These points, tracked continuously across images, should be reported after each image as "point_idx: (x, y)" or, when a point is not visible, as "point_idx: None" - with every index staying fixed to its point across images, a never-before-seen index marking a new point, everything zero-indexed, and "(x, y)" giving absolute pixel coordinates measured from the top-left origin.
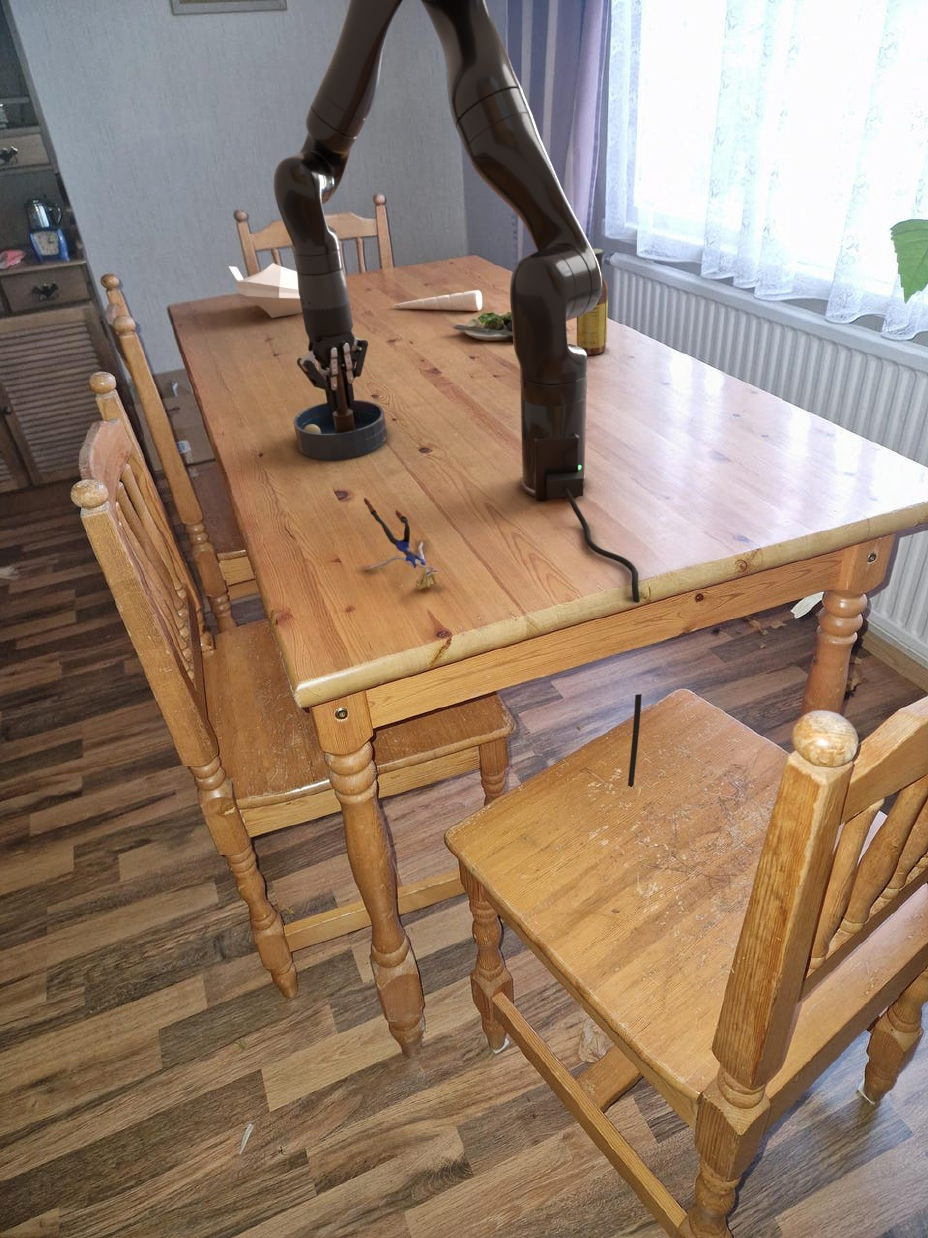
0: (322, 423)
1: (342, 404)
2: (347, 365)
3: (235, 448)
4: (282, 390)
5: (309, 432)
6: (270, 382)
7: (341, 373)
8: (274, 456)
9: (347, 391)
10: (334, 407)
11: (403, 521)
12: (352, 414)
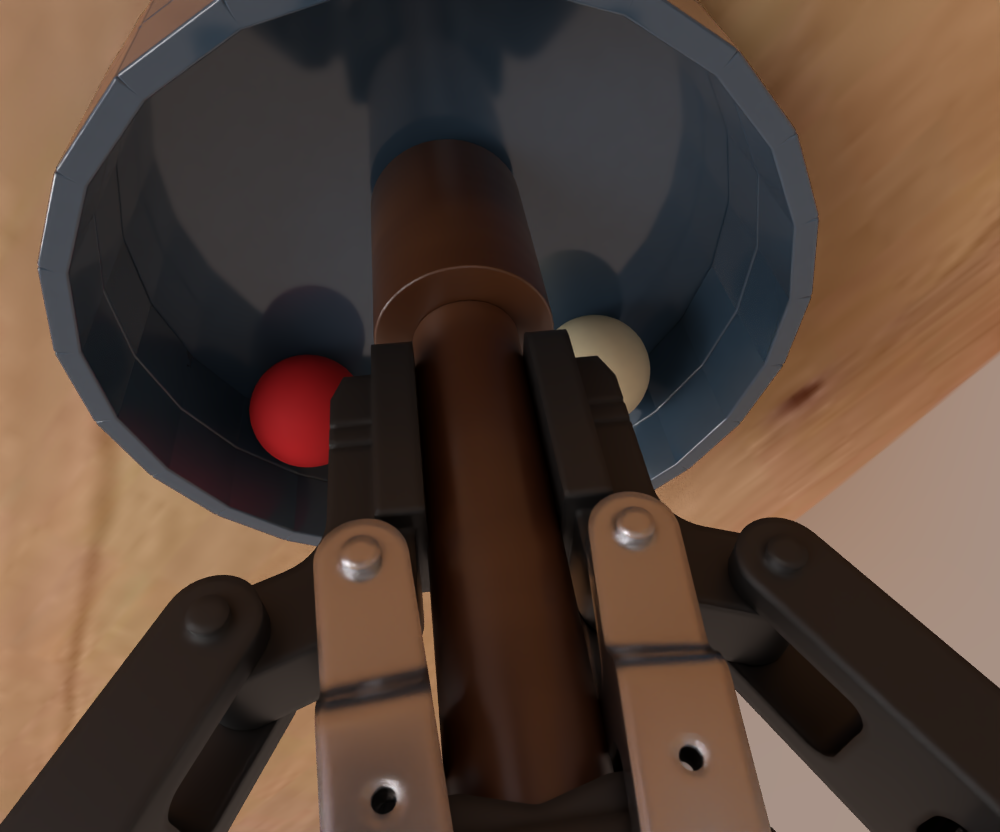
0: None
1: (503, 367)
2: (422, 761)
3: (778, 500)
4: (297, 720)
5: (800, 286)
6: (293, 760)
7: (493, 666)
8: (792, 347)
9: (420, 459)
10: (597, 364)
11: None
12: (410, 270)
